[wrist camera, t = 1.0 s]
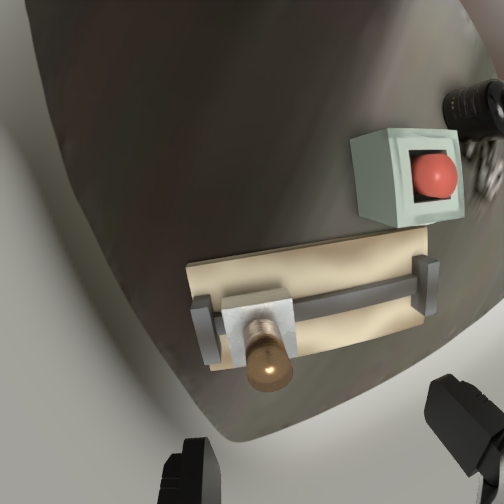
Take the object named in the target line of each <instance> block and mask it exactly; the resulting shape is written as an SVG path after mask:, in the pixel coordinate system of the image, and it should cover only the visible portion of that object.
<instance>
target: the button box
mask: <svg viewBox="0 0 504 504" xmlns="http://www.w3.org/2000/svg"><path fill="white" fill-rule="evenodd" d="M349 141H350V147H351V154H352V161H353V169H354V176H355V185H356V194H357V203H358V214H359V216H360V217H363V218H367V219H370V220H373V221H376V222H380V223H383V224H386V225H389V226H392V227H396V228H402V227H408V226H419V225H423V226H425V225H427V224H432V223H435V222H438V221H444V220H450V219H456V218H462V217H465V214H464V190H463V177H462V166H461V157H460V149H459V141H458V134H457V130H443V129H417V128H386V129H382V130H379V131H376V132H372V133H369V134H366V135H362V136H359V137H356V138H353V139H349ZM426 154H445V155H447V156H448V157H450V158H451V160H452V161H453V162H454V164H455V166H456V169H457V175H458V181H457V186H456V189H455V191H454V192H453V194H452V195H451V196H449V197H447V198H437V197H430V196H422V195H414V194H413V185H412V175H411V166H410V158H409V157H410V156H414V155H426Z"/></svg>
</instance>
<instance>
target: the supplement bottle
mask: <svg viewBox="0 0 504 504" xmlns="http://www.w3.org/2000/svg"><path fill="white" fill-rule="evenodd" d="M444 116H445V120H446V122H447V125H448V127H449V129H450V130H457V134H458V139H460V140H461V141H464V142H478V141H489V140H502V139H504V81H502V80H499V79H490V80H487V81H483V82H480V83H477V84H474V85H471V86H468V87H464V88H461V89H458V90H456V91H453V92H451V93H449V94H448V95H447V97H446V99H445V102H444Z"/></svg>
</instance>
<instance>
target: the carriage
mask: <svg viewBox="0 0 504 504" xmlns="http://www.w3.org/2000/svg"><path fill="white" fill-rule="evenodd" d="M221 311H222V316H223V321H224V326H225V330H226V335H227V339H228V344H229V348H230V353H231V357H232V362H233V366H234V368H236V367H243V366H247V376H248V381H249V383H250V385H251V386H252V387H253V388H255V389H256V390H259V391H262V392H274V391H278V390H280V389H282V388H284V387H285V386H286V385H287V384H288V383H289V382H290V381H291V379H292V376H293V369H292V366H291V363H290V360H289V358H294V357H298V349H297V339H296V329H295V320H294V311H293V302H292V297H291V295H290V293H289V291H288V290H287V288H286V287H283V288H278V289H272V290H266V291H261V292H255V293H249V294H243V295H237V296H230V297H224V298H222V306H221Z"/></svg>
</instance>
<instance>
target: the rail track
mask: <svg viewBox="0 0 504 504" xmlns="http://www.w3.org/2000/svg"><path fill="white" fill-rule="evenodd" d="M186 272H187V276H188V281H189V285H190V290H191V294H192V299H193V302H192V305H191V309H190V311H191V315H192V319H193V323H194V327H195V330H196V334H197V338H198V342H199V346H200V349H201V353H202V357H203V360H204V364H205V365H209V366H210V369H211V371H215V370H223V369H230V368H234V366H233V362H232V357H231V353H230V348H229V344H228V339H227V335H226V330H225V326H224V321H223V316H222V311H221V306H222V298H224V297H230V296H237V295H243V294H249V293H255V292H261V291H266V290H272V289H278V288H283V287H286V288H287V290H288V291H289V293H290V295H291V297H292V302H293V311H294V320H295V329H296V339H297V349H298V357H299V356H304V355H309V354H313V353H318V352H322V351H327V350H331V349H335V348H339V347H343V346H347V345H351V344H355V343H359V342H363V341H367V340H370V339H374V338H377V337H381V336H384V335H388V334H391V333H394V332H398V331H401V330H404V329H407V328H411V327H414V326H417V325H420V324H423V323H424V316H425V317H426V316H429V315H432V314H435V313H436V307H437V295H438V280H439V261H437V260H435V259H433V258H431V257H428V256H427V227H425V226H422V225H419V226H411V227H405V228H399V229H393V230H387V231H381V232H375V233H369V234H363V235H357V236H351V237H345V238H339V239H333V240H327V241H321V242H314V243H308V244H302V245H296V246H290V247H284V248H278V249H272V250H266V251H260V252H254V253H248V254H242V255H236V256H230V257H224V258H218V259H212V260H205V261H199V262H193V263H188V264H187V266H186ZM243 367H244V366H243ZM236 368H237V367H236Z"/></svg>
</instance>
